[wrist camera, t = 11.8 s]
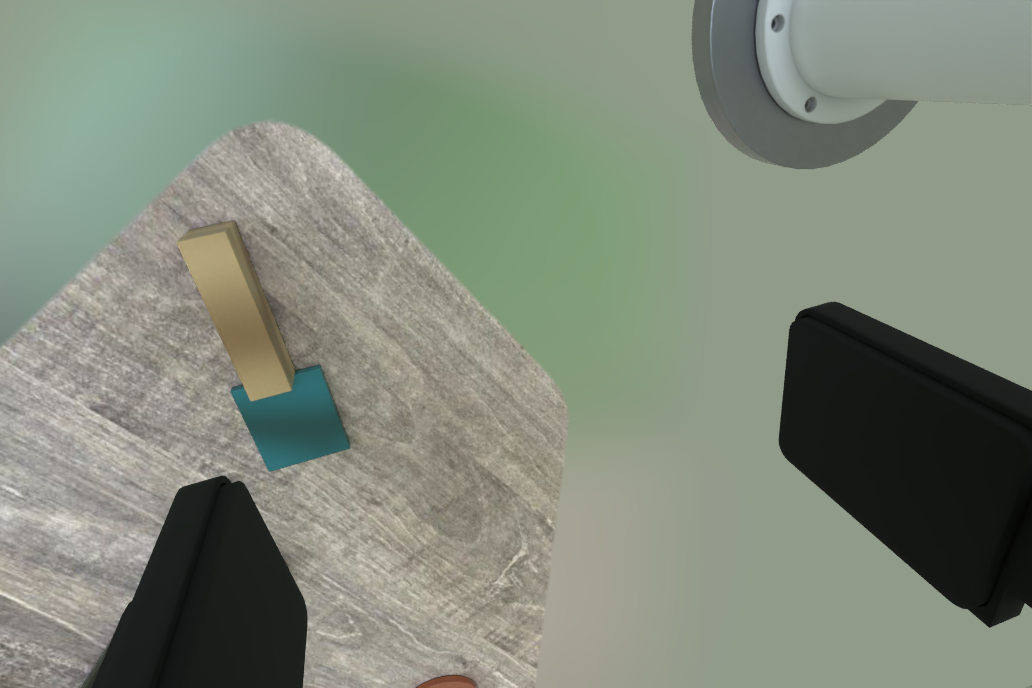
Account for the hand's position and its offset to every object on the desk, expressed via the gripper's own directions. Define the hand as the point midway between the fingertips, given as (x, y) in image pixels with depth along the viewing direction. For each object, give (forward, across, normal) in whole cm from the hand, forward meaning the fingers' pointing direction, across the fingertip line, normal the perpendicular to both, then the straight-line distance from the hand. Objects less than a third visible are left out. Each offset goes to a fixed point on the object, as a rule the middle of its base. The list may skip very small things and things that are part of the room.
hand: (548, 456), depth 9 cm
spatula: (+23, +10, +7) cm, 26 cm away
